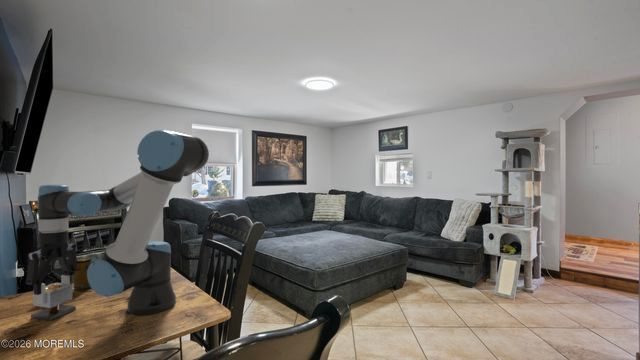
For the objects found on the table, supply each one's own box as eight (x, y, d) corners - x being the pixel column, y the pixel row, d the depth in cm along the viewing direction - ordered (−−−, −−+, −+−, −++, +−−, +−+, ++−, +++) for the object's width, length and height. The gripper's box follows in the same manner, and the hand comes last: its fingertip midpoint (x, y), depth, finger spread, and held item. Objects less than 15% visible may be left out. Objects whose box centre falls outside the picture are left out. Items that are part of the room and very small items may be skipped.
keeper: (75, 309, 103) (75, 280, 102) (50, 320, 95) (50, 289, 95) (57, 307, 104) (57, 278, 104) (30, 318, 97) (30, 287, 96)
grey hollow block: (72, 298, 102) (72, 284, 102) (50, 308, 95) (50, 292, 95) (56, 296, 104) (56, 282, 104) (33, 305, 97) (33, 290, 97)
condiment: (79, 285, 124) (79, 257, 124) (101, 284, 126) (101, 256, 125) (67, 292, 117) (67, 262, 117) (91, 291, 118) (91, 261, 118)
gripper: (74, 225, 109) (74, 286, 110) (8, 236, 90) (8, 310, 91) (91, 226, 108) (91, 288, 109) (27, 237, 88) (27, 313, 89)
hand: (53, 298), depth 100 cm, fingers closed on grey hollow block, 7 cm apart
